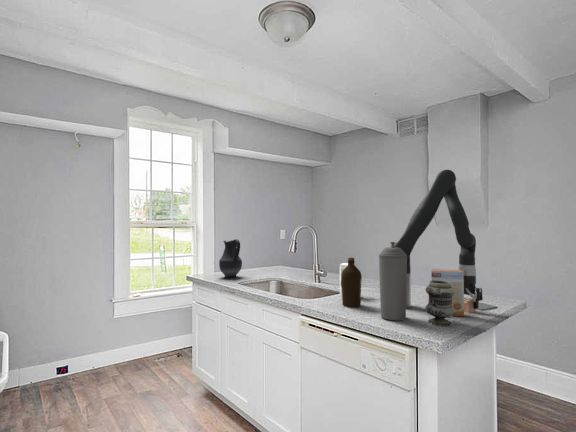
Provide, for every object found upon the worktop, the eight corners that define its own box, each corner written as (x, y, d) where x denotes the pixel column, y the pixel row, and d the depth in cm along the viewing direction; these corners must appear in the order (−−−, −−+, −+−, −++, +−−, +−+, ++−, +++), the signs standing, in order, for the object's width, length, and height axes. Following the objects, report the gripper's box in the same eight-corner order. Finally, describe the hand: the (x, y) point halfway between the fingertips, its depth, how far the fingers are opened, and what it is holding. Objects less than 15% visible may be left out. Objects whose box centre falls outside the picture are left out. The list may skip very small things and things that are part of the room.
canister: (396, 313, 174) (395, 240, 174) (413, 320, 162) (413, 242, 162) (373, 315, 170) (372, 241, 170) (389, 323, 158) (388, 243, 158)
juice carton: (344, 294, 217) (344, 262, 217) (357, 295, 212) (357, 263, 212) (338, 296, 211) (338, 263, 211) (351, 298, 206) (351, 264, 206)
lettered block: (468, 313, 173) (468, 300, 173) (459, 310, 178) (459, 298, 178) (475, 311, 175) (475, 299, 175) (466, 309, 180) (466, 297, 180)
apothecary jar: (440, 328, 150) (440, 285, 150) (419, 320, 161) (419, 280, 161) (461, 324, 155) (461, 282, 155) (439, 317, 166) (439, 278, 166)
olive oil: (343, 308, 185) (343, 259, 185) (339, 303, 195) (339, 256, 195) (364, 307, 185) (363, 258, 185) (359, 302, 195) (358, 256, 196)
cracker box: (464, 314, 172) (463, 270, 172) (464, 317, 166) (464, 271, 166) (432, 311, 178) (432, 268, 178) (431, 314, 172) (431, 270, 172)
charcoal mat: (481, 310, 177) (481, 309, 177) (460, 305, 188) (460, 304, 188) (497, 307, 183) (497, 306, 183) (476, 302, 193) (476, 301, 193)
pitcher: (234, 275, 291) (234, 237, 291) (249, 278, 275) (248, 239, 275) (215, 277, 280) (214, 238, 280) (229, 281, 264) (228, 240, 264)
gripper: (449, 272, 181) (450, 304, 181) (475, 276, 169) (475, 311, 169) (459, 271, 185) (460, 303, 185) (485, 275, 172) (486, 309, 172)
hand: (467, 307), depth 177 cm, fingers open, 8 cm apart
